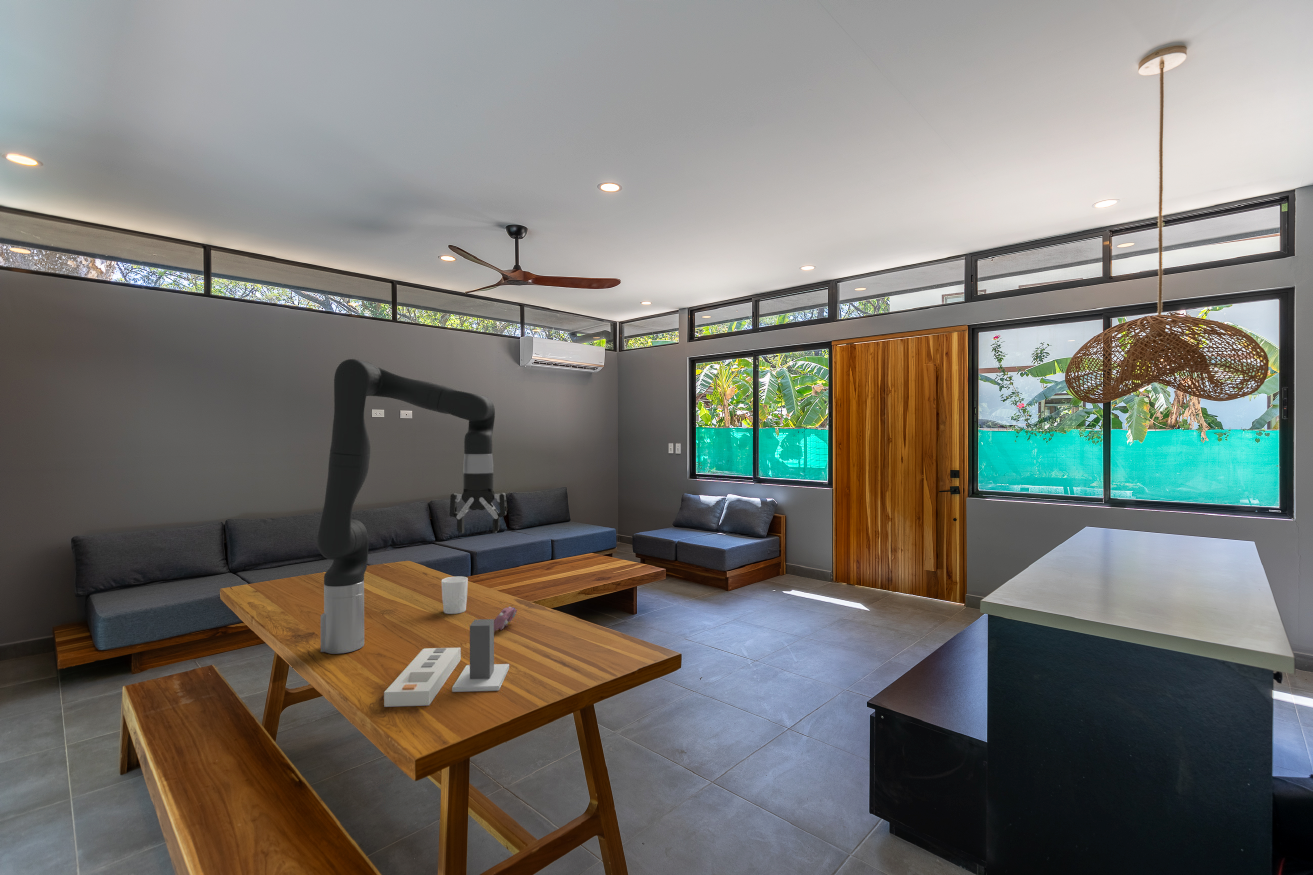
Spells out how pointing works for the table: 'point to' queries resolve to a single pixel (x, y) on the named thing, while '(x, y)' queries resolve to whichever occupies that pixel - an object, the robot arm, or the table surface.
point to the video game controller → (504, 618)
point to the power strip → (422, 677)
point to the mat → (481, 680)
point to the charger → (481, 649)
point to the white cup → (454, 594)
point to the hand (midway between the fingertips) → (478, 532)
